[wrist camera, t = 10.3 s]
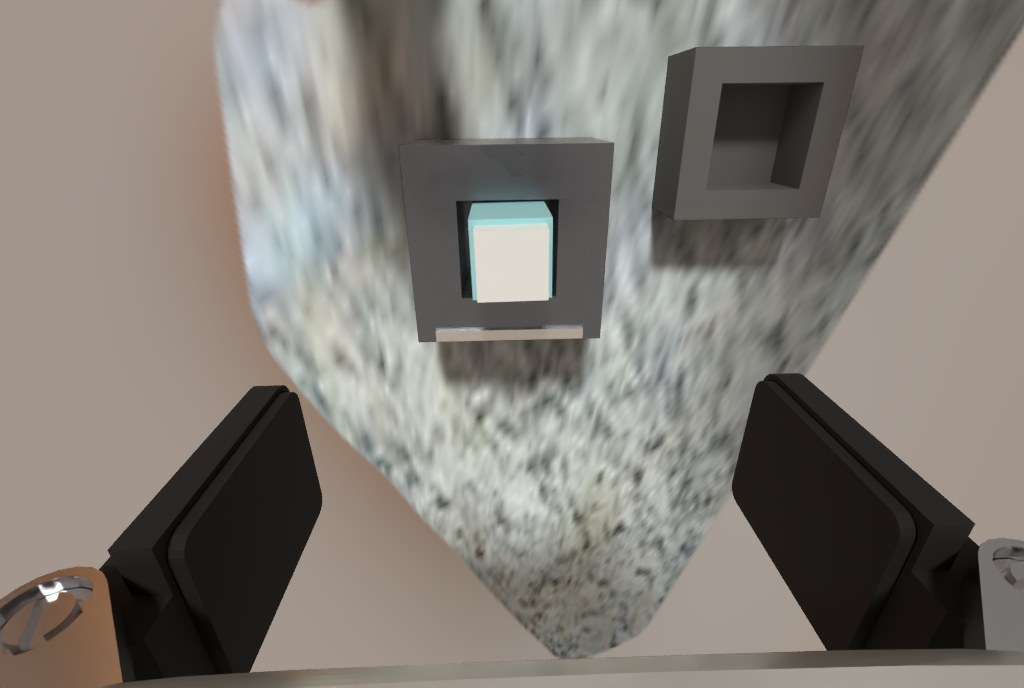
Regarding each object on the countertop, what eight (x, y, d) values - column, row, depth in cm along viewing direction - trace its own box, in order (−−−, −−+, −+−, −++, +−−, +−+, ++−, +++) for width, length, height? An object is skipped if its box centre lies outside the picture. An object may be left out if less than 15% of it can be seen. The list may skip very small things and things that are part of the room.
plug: (475, 189, 28) (466, 225, 19) (536, 187, 28) (555, 222, 19) (479, 249, 29) (472, 308, 20) (536, 247, 29) (554, 305, 20)
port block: (417, 139, 28) (397, 146, 22) (591, 137, 28) (615, 143, 22) (431, 303, 32) (418, 343, 26) (582, 300, 32) (600, 339, 26)
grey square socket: (668, 56, 26) (696, 47, 23) (813, 55, 26) (864, 45, 23) (652, 207, 30) (673, 220, 26) (780, 205, 30) (819, 217, 26)
